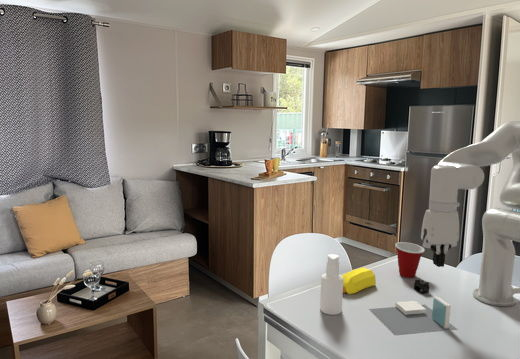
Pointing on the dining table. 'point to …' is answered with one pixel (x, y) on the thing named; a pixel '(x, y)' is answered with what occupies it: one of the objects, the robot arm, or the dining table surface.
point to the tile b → (441, 312)
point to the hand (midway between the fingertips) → (438, 265)
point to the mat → (408, 321)
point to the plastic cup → (408, 258)
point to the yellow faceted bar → (358, 280)
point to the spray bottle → (331, 287)
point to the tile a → (410, 307)
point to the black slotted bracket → (421, 286)
